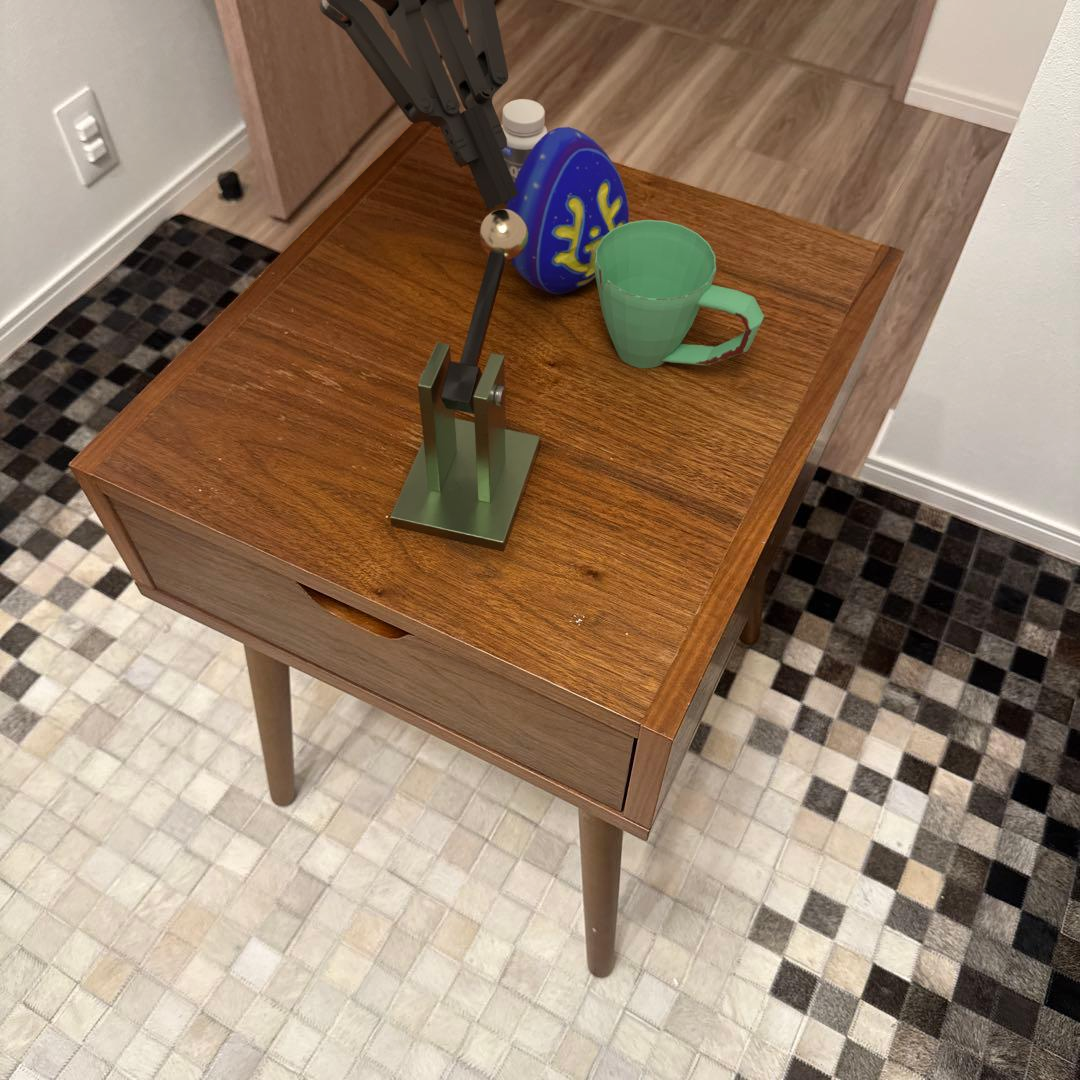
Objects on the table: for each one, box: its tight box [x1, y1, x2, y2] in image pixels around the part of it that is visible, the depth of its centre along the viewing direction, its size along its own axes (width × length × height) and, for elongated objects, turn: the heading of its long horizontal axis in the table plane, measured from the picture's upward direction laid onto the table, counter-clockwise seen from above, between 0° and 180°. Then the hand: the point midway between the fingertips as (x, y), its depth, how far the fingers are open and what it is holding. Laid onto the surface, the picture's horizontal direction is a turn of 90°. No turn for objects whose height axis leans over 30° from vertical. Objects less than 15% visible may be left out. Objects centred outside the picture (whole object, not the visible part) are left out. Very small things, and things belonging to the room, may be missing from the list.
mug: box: [595, 219, 765, 369], centre depth 90 cm, size 15×10×10 cm
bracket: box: [389, 341, 541, 552], centre depth 80 cm, size 11×9×13 cm
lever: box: [440, 208, 528, 415], centre depth 77 cm, size 15×4×4 cm, turn 165°
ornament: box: [505, 126, 630, 295], centre depth 94 cm, size 11×9×15 cm
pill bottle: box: [501, 98, 549, 182], centre depth 104 cm, size 5×5×8 cm
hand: (503, 202), depth 77 cm, fingers closed
